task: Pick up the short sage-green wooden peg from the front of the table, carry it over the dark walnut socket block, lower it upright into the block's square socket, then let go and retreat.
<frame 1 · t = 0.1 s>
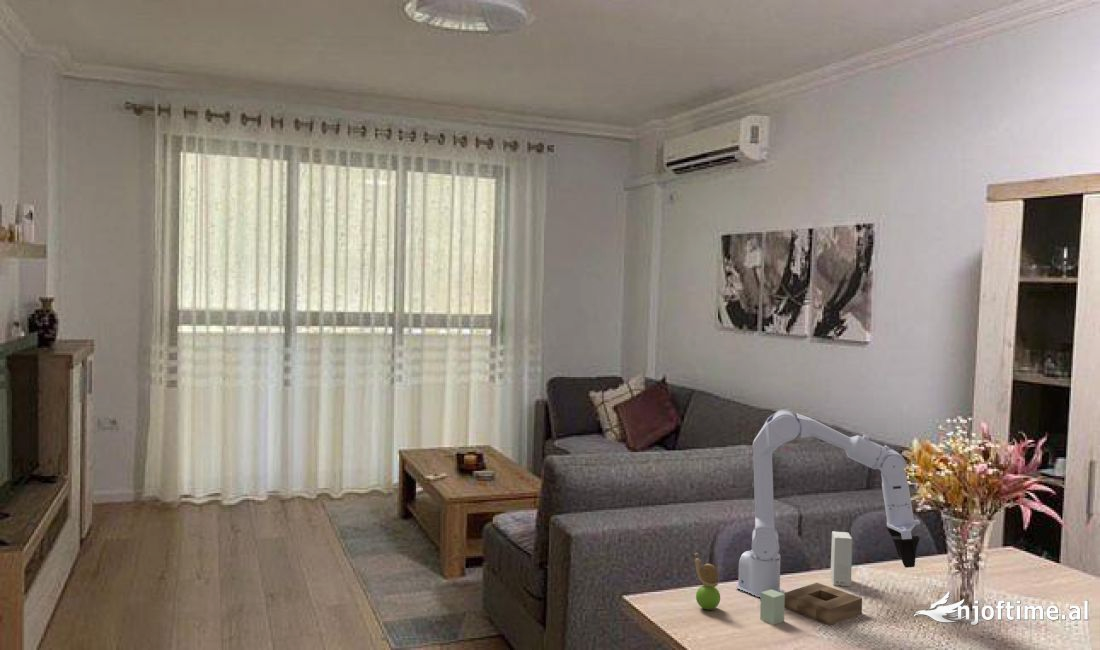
hand: (906, 561, 188), 11 cm above the table, tool pointing down, fingers open, 7 cm apart
walnut socket block: (822, 610, 185), on the table
snail figurine: (706, 609, 186), on the table
skincare box: (840, 582, 204), on the table
sage peg: (772, 620, 179), on the table
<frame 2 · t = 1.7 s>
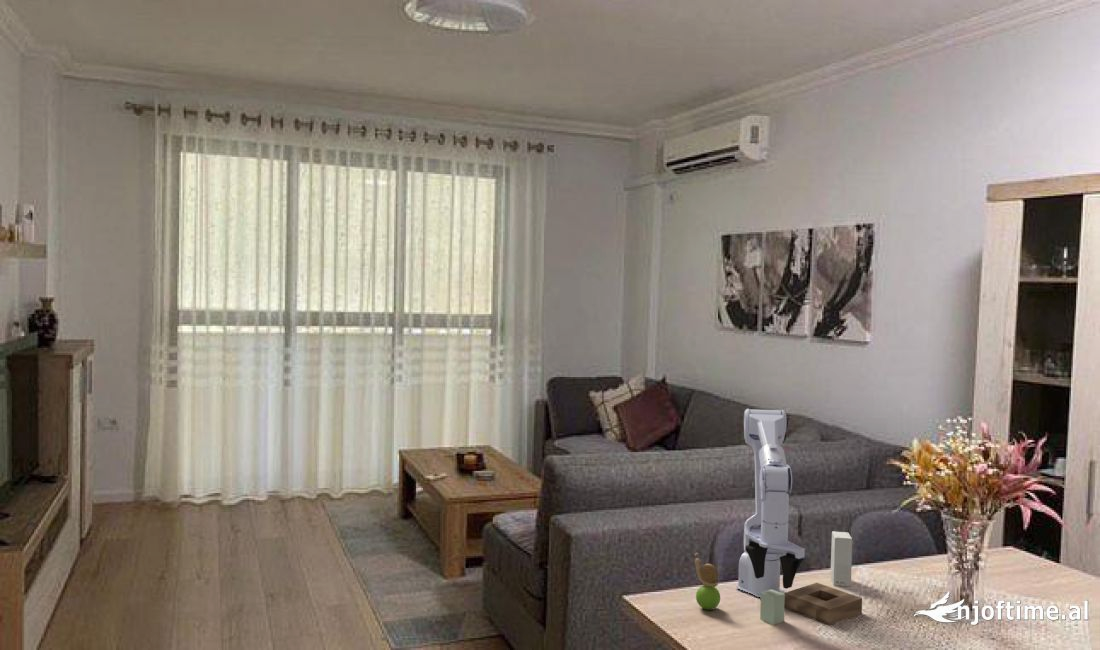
hand: (773, 582, 179), 8 cm above the table, tool pointing down, fingers open, 7 cm apart
nothing on the table moved.
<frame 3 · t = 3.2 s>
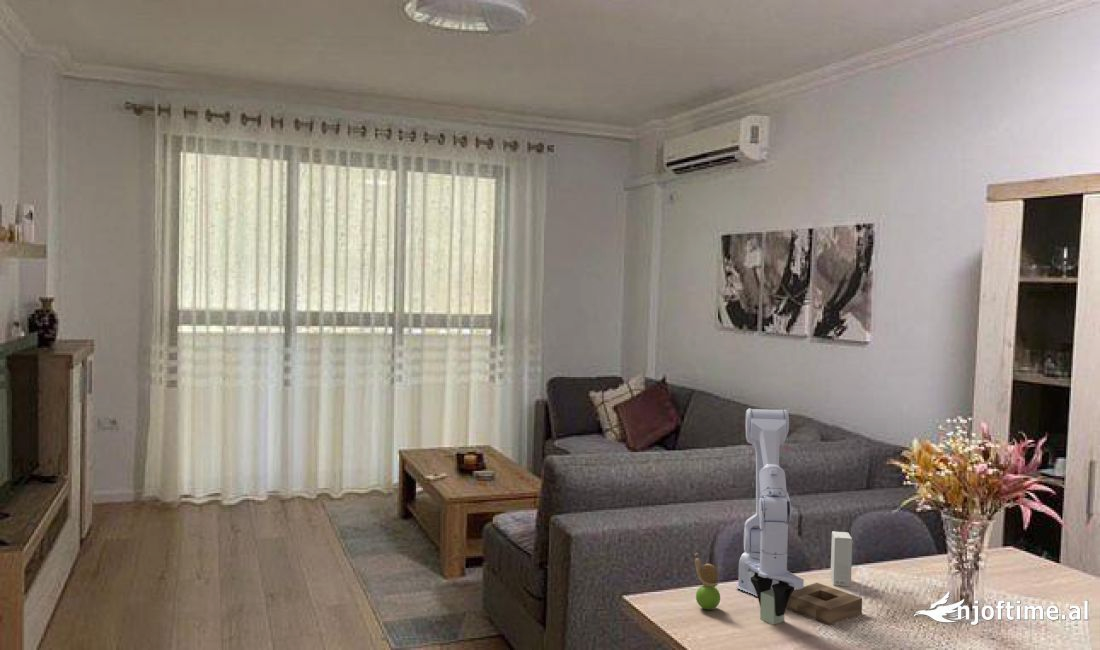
hand: (772, 611, 179), 2 cm above the table, tool pointing down, fingers closed on sage peg, 4 cm apart
sage peg: (772, 620, 179), on the table, touching gripper
everything else where it was.
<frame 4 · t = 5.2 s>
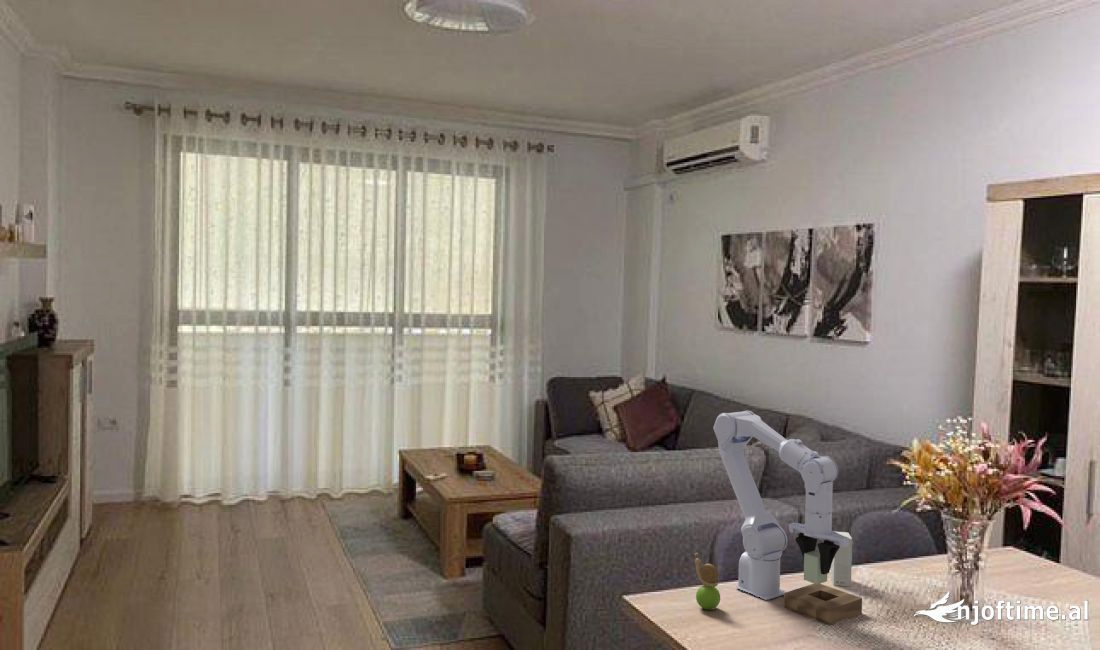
hand: (817, 570, 184), 9 cm above the table, tool pointing down, fingers closed on sage peg, 4 cm apart
sage peg: (815, 580, 184), point 7 cm above the table, touching gripper
everything else where it was.
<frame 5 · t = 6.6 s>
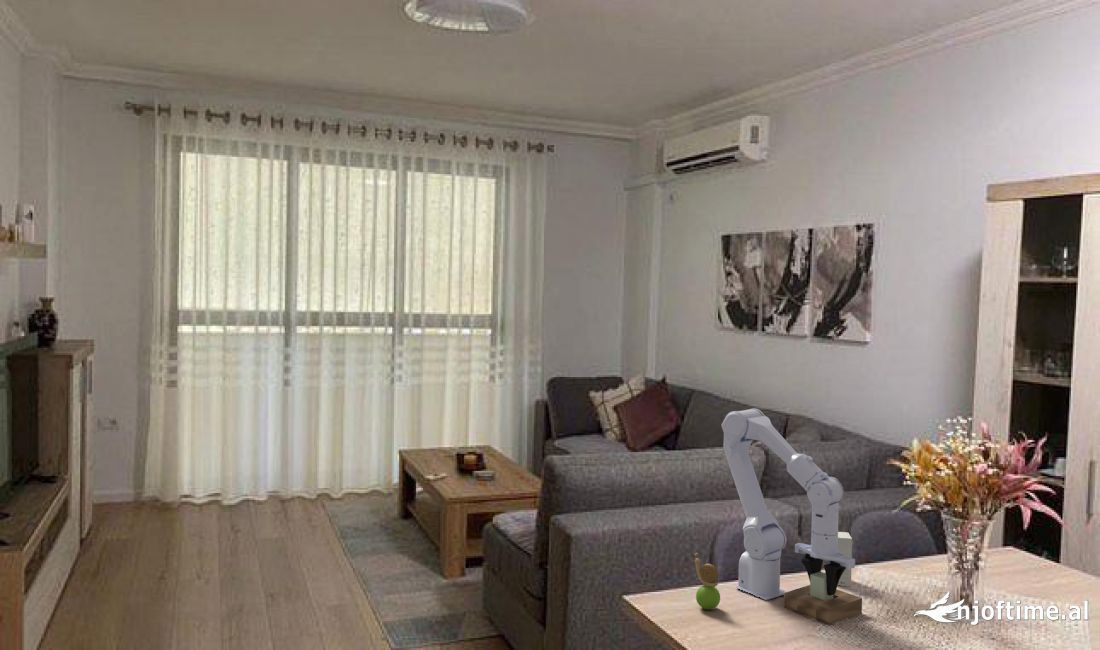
hand: (823, 591, 185), 4 cm above the table, tool pointing down, fingers closed on sage peg, 4 cm apart
sage peg: (821, 601, 185), point 2 cm above the table, touching gripper
everything else where it was.
when the fingers open (4 cm above the table, at t = 7.7 s): sage peg drops 2 cm, resting on walnut socket block.
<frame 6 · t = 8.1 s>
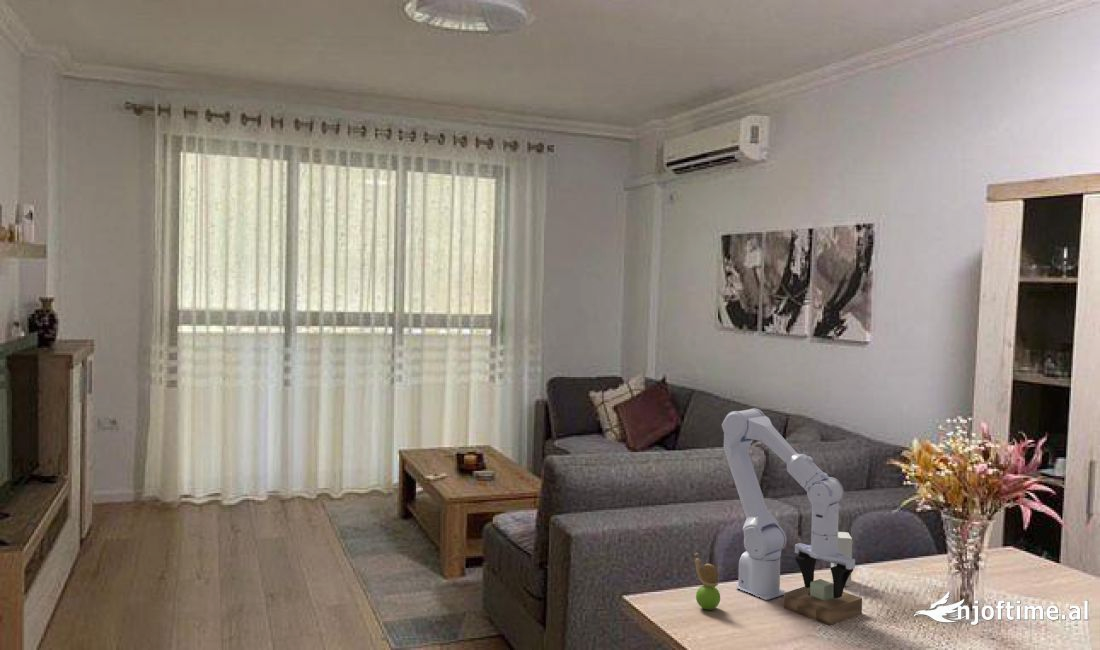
hand: (823, 591, 185), 4 cm above the table, tool pointing down, fingers open, 7 cm apart
sage peg: (821, 608, 185), resting on walnut socket block
everything else where it was.
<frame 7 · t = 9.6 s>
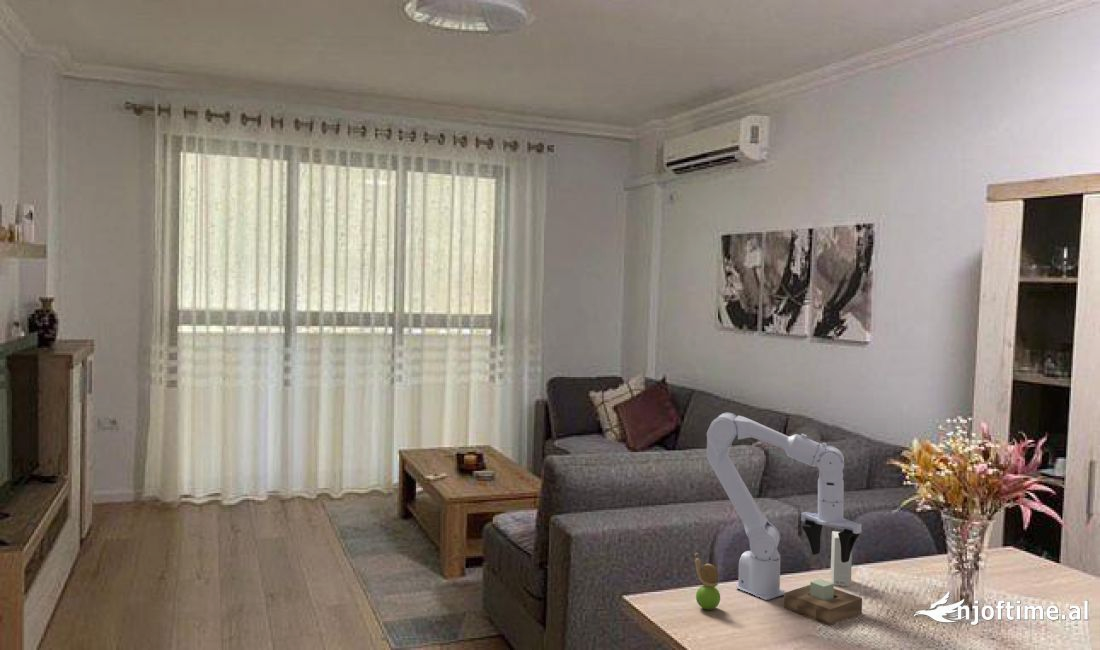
hand: (830, 557, 191), 10 cm above the table, tool pointing down, fingers open, 7 cm apart
nothing on the table moved.
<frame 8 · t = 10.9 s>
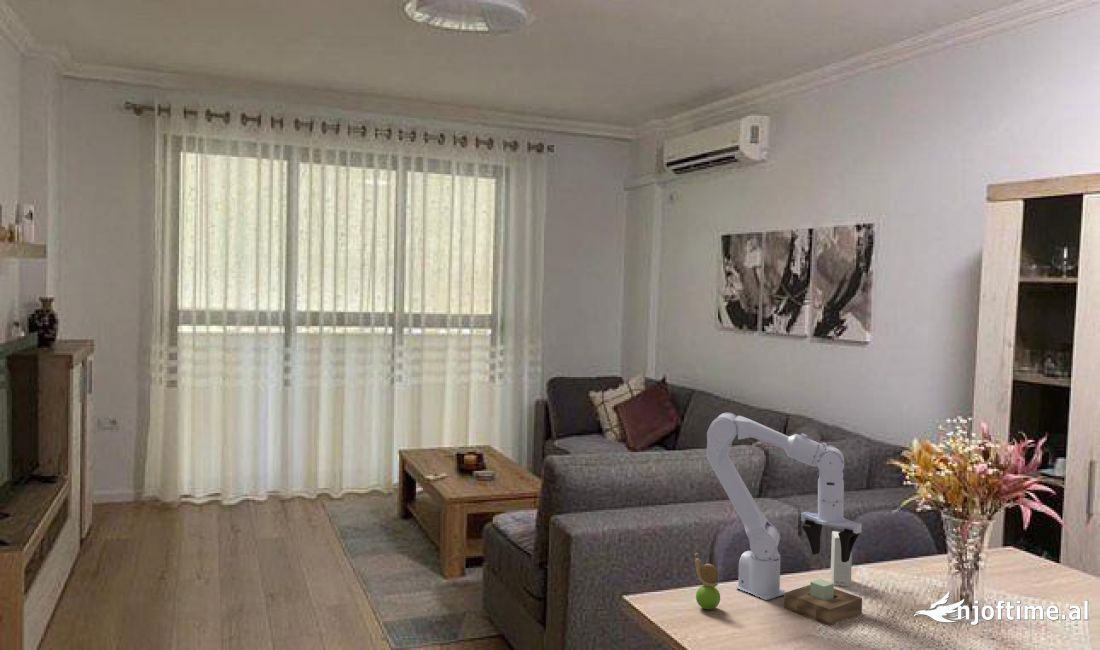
hand: (830, 557, 191), 10 cm above the table, tool pointing down, fingers open, 7 cm apart
nothing on the table moved.
at the end: sage peg 0.5 cm off-centre on the walnut socket block, point 0.5 cm above the walnut socket block's base; sage peg tilted 0°; the gripper is holding nothing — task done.
